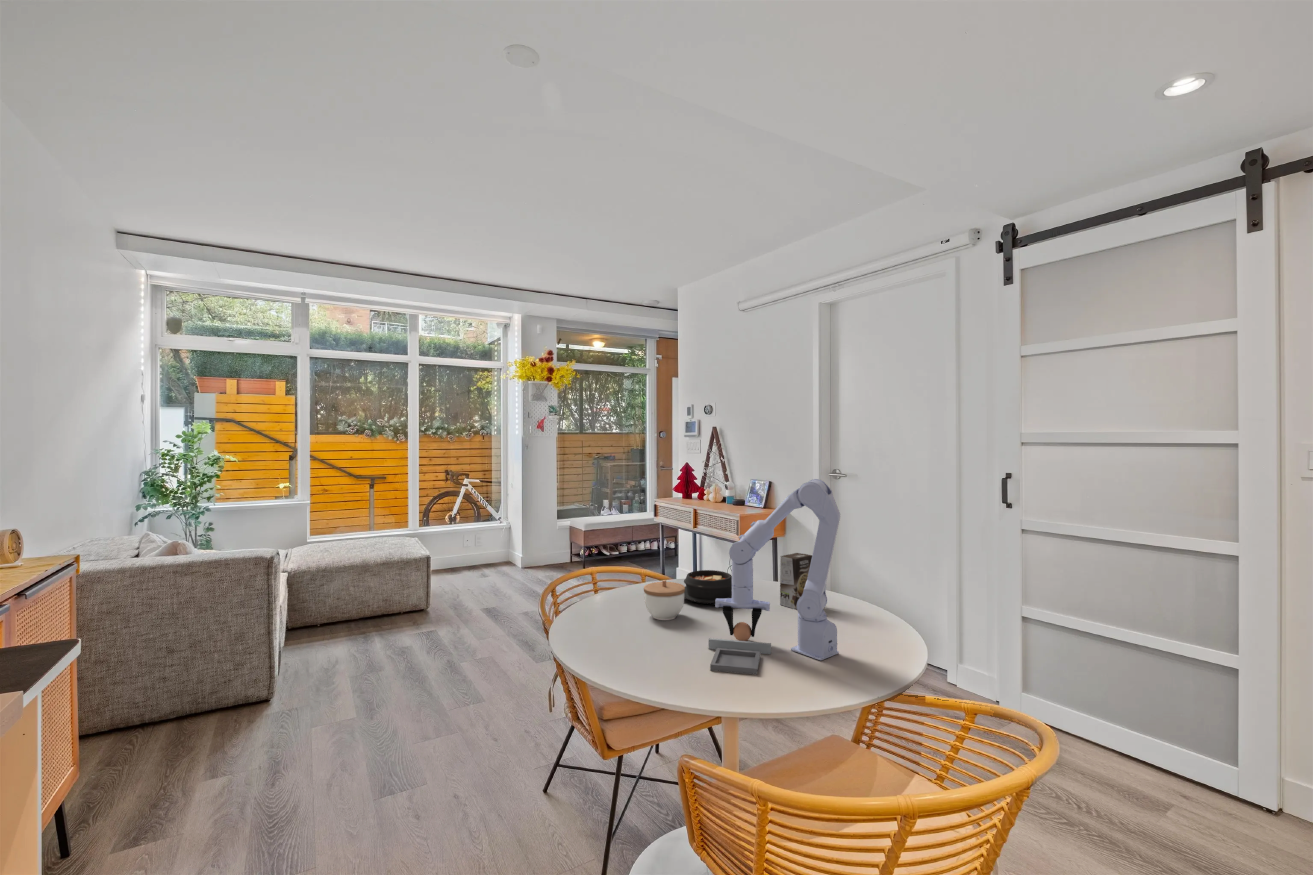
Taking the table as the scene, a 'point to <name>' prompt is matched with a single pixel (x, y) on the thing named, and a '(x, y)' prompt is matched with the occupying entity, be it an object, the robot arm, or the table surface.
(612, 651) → the table surface
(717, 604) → the robot arm
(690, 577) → the casserole
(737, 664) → the coaster
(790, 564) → the coffee box
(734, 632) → the ball
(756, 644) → the divider
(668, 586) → the lidded bowl
